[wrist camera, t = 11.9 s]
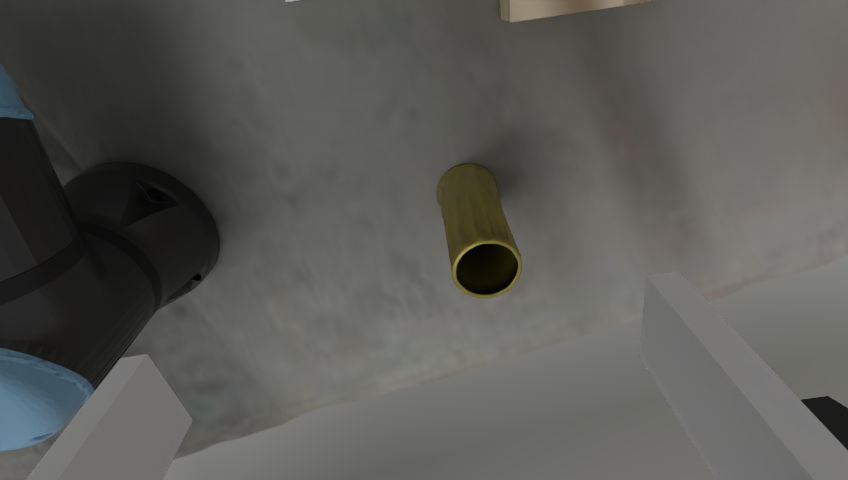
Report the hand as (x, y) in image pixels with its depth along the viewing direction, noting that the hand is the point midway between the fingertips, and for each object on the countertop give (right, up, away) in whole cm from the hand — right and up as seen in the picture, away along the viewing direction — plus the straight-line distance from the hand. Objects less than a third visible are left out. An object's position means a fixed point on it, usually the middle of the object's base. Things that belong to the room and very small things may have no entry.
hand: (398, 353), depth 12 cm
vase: (+5, +8, +33) cm, 34 cm away
